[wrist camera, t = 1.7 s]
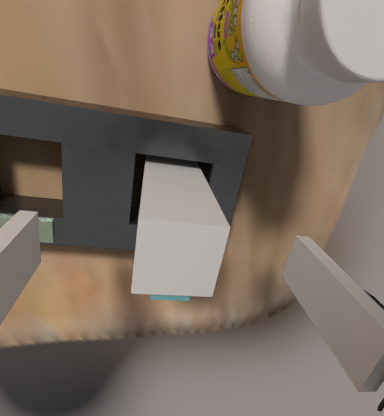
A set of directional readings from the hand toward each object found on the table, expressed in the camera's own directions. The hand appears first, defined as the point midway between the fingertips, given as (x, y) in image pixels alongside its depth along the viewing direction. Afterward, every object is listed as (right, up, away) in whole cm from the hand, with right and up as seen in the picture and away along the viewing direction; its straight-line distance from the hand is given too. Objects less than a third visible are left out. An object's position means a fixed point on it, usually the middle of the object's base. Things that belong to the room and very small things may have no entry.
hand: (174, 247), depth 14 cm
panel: (-6, +5, +7) cm, 11 cm away
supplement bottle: (+5, +14, +5) cm, 15 cm away
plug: (-1, +4, +8) cm, 9 cm away
